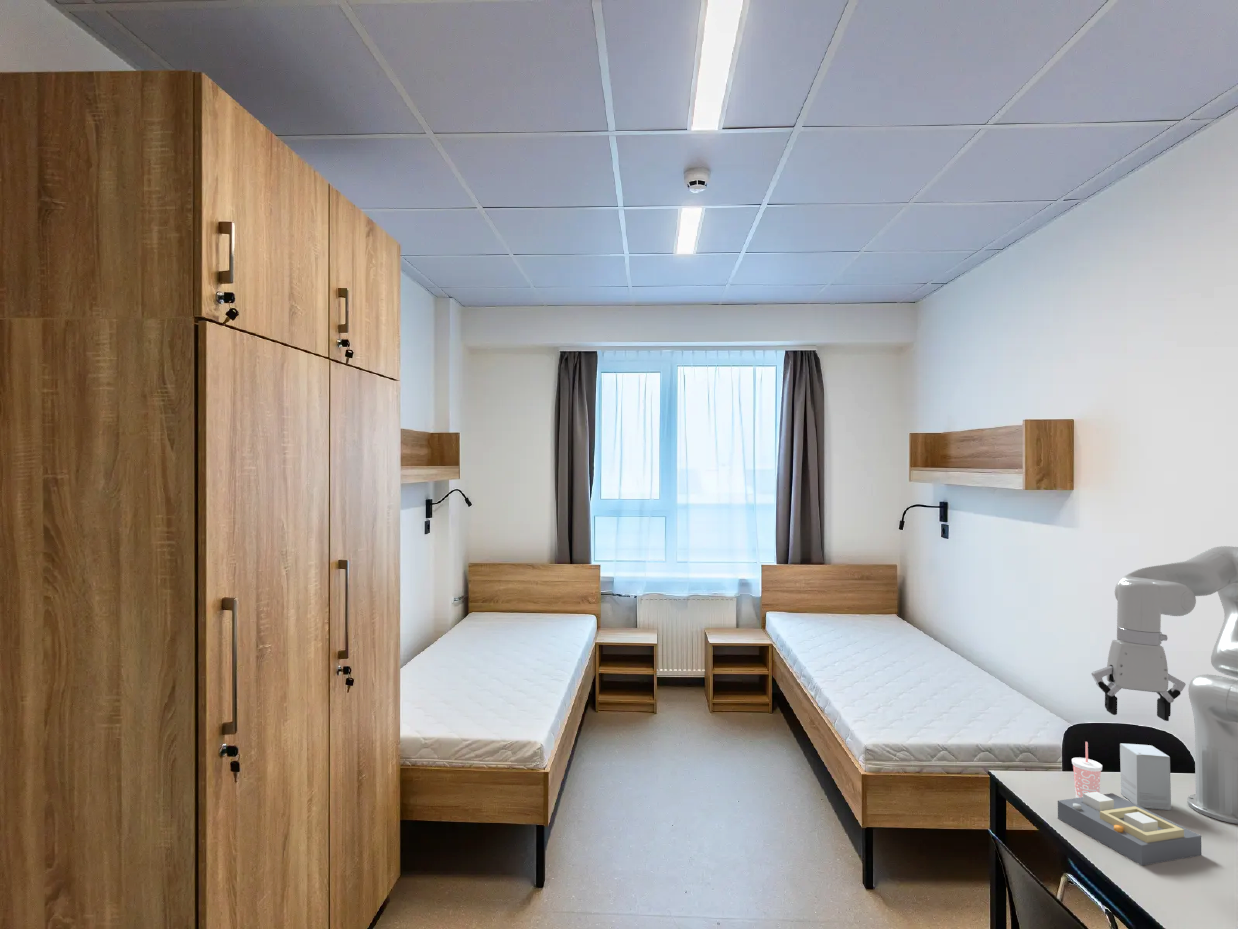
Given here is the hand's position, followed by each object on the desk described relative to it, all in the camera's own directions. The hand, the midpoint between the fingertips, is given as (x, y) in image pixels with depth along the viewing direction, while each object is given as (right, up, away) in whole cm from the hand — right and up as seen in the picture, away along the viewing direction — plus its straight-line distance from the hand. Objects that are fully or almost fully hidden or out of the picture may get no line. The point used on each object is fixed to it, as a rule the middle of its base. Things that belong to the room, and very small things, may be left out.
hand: (1137, 716), depth 143 cm
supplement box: (+14, -27, +15) cm, 34 cm away
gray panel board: (-3, -26, +1) cm, 27 cm away
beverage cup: (+1, -27, +16) cm, 32 cm away
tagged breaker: (-2, -24, -4) cm, 25 cm away
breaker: (-5, -24, +5) cm, 25 cm away
